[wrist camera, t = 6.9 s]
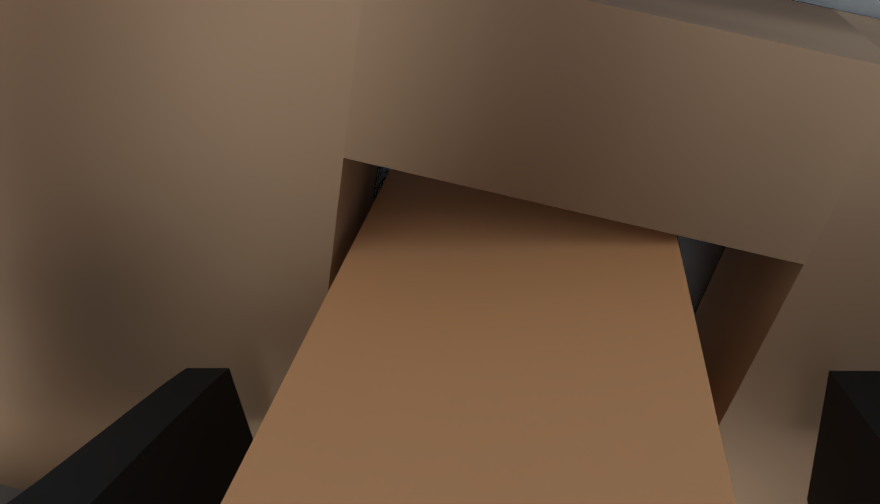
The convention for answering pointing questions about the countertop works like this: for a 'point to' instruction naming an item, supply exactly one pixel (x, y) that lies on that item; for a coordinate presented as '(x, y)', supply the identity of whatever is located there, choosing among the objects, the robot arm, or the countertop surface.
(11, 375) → the socket block
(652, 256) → the peg
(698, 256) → the countertop surface
